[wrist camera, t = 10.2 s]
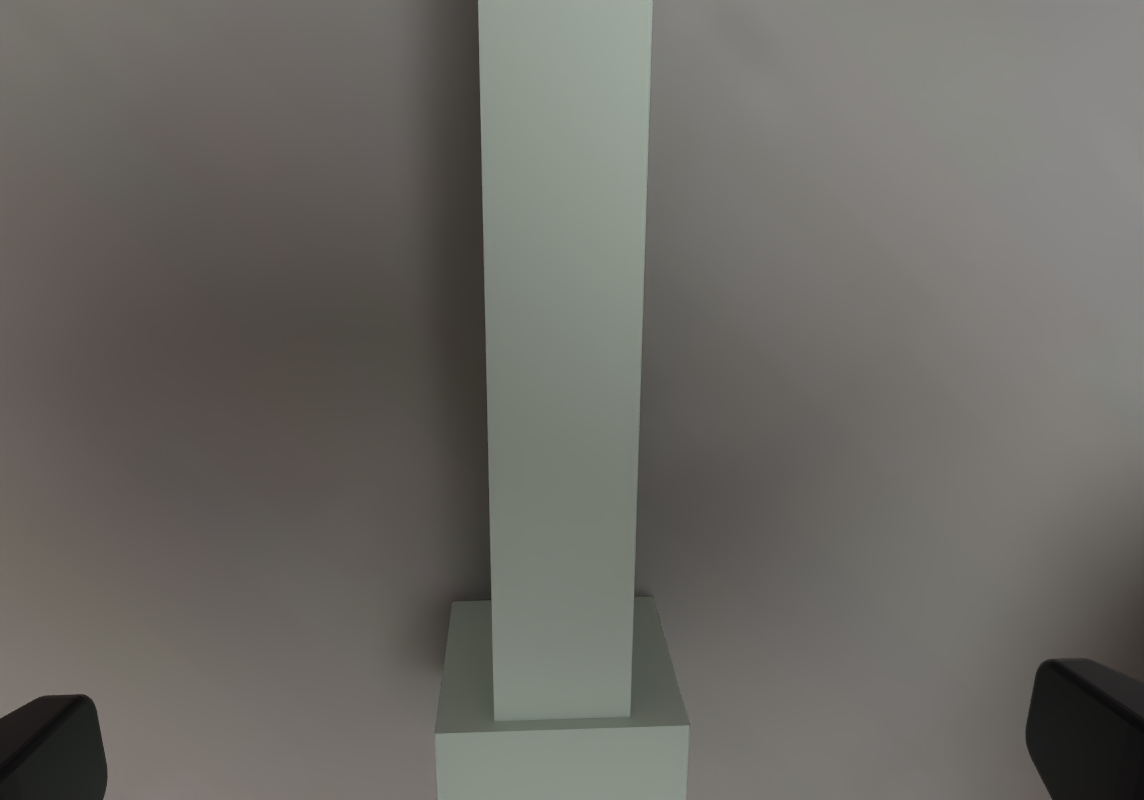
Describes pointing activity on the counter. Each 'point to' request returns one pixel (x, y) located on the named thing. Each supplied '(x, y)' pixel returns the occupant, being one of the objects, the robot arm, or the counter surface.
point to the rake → (562, 427)
